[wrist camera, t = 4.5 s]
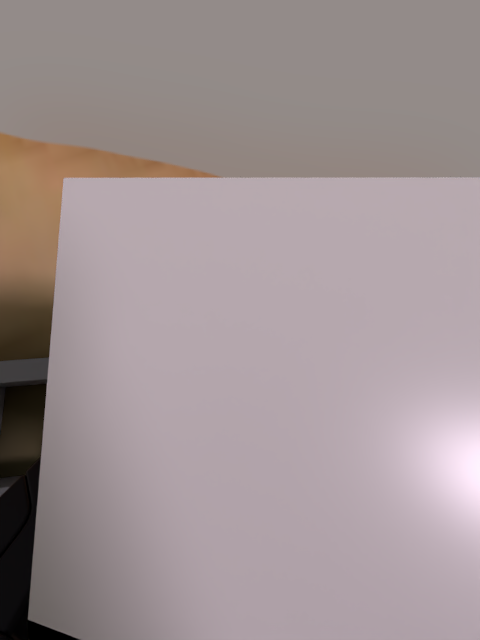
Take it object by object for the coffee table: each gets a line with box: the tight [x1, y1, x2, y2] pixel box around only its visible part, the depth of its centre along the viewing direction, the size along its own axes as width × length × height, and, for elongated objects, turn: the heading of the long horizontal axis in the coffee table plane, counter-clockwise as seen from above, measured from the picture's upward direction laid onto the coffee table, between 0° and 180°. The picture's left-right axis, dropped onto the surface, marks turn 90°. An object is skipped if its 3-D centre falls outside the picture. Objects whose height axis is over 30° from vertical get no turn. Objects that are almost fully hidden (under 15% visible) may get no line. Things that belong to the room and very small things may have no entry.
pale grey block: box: [28, 178, 480, 640], centre depth 8 cm, size 6×6×11 cm
